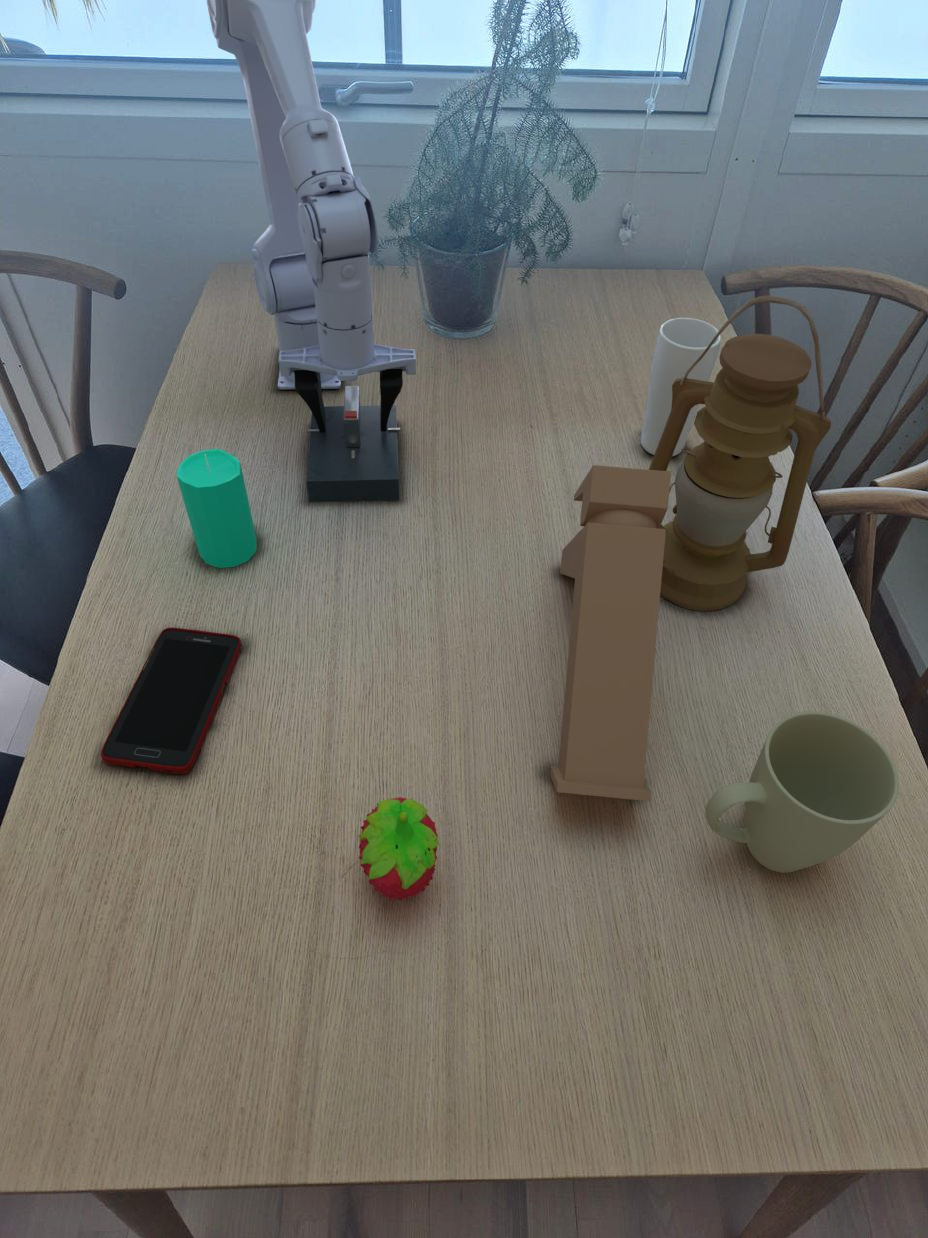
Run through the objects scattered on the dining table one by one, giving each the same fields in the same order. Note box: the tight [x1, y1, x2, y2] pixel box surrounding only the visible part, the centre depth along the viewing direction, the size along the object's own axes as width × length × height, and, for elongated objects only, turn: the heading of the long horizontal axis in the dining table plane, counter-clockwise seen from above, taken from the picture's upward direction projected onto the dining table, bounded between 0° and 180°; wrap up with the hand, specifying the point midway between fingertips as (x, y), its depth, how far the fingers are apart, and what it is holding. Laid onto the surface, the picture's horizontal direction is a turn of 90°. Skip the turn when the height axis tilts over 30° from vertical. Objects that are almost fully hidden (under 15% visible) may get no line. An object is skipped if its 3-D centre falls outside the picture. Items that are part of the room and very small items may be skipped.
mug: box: [704, 710, 900, 874], centre depth 61 cm, size 11×10×12 cm
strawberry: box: [358, 796, 440, 902], centre depth 59 cm, size 6×7×10 cm
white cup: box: [640, 317, 722, 457], centre depth 95 cm, size 7×7×15 cm
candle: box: [176, 448, 258, 569], centre depth 82 cm, size 6×6×12 cm
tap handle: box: [343, 385, 361, 447], centre depth 94 cm, size 6×2×4 cm, turn 5°
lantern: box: [648, 295, 832, 612], centre depth 75 cm, size 15×10×30 cm
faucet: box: [549, 464, 672, 802], centre depth 74 cm, size 7×23×25 cm
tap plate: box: [305, 404, 401, 503], centre depth 95 cm, size 14×11×3 cm
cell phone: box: [100, 627, 243, 775], centre depth 73 cm, size 8×15×1 cm, turn 172°
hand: (353, 426), depth 95 cm, fingers open, 6 cm apart
